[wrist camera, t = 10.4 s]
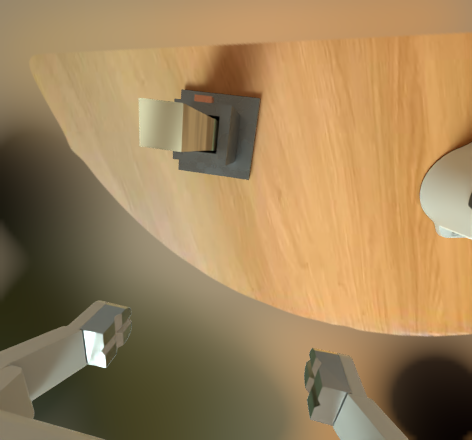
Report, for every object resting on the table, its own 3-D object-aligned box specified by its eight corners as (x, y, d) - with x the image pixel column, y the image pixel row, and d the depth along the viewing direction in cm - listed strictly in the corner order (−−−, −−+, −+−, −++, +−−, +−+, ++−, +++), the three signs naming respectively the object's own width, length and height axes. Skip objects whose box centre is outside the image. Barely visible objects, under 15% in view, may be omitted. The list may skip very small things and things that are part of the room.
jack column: (221, 122, 34) (183, 102, 19) (218, 150, 35) (181, 152, 20) (195, 118, 34) (138, 96, 19) (193, 146, 35) (139, 146, 20)
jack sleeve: (260, 100, 39) (257, 82, 28) (249, 178, 44) (242, 189, 33) (184, 91, 40) (153, 71, 29) (181, 168, 45) (153, 175, 34)
